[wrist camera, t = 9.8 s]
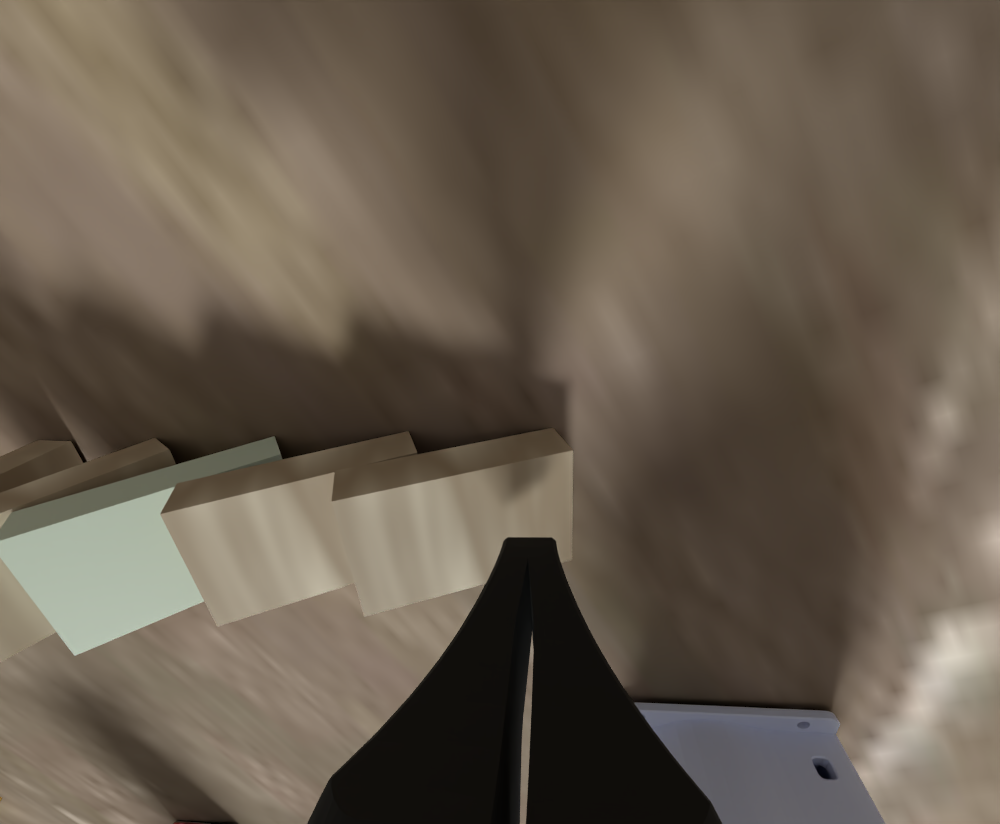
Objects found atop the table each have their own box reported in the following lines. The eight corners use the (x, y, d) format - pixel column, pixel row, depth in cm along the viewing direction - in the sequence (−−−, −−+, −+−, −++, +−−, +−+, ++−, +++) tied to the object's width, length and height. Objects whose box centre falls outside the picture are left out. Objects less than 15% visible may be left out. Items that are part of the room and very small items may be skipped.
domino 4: (169, 449, 15) (-168, 576, 10) (213, 546, 17) (-54, 692, 12) (154, 437, 16) (-160, 549, 11) (198, 530, 18) (-56, 660, 13)
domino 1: (572, 450, 13) (331, 501, 12) (572, 559, 15) (364, 617, 13) (552, 427, 15) (334, 470, 13) (554, 530, 16) (364, 579, 15)
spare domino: (280, 454, 14) (-11, 544, 11) (315, 554, 16) (74, 655, 13) (274, 435, 16) (11, 512, 12) (306, 531, 18) (86, 618, 14)
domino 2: (417, 452, 14) (160, 513, 12) (435, 557, 16) (217, 626, 14) (408, 431, 15) (176, 483, 13) (426, 530, 17) (226, 589, 15)
